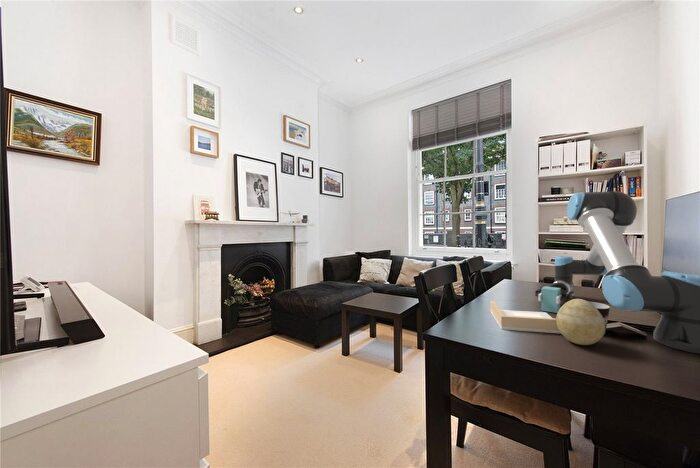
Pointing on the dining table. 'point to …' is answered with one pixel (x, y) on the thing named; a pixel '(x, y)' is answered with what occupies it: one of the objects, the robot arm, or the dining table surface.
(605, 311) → the coffee mug
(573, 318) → the fossilized egg
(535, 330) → the tray
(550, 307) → the teal block
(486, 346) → the dining table surface
